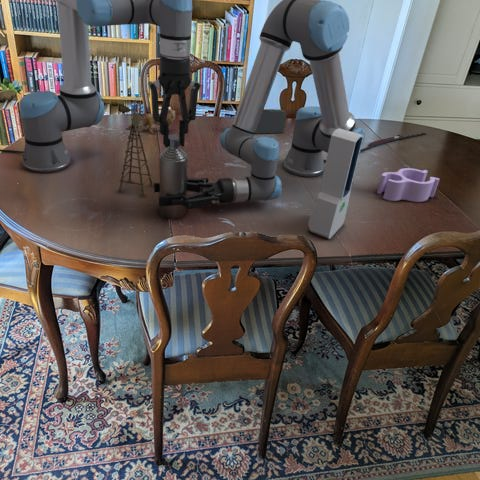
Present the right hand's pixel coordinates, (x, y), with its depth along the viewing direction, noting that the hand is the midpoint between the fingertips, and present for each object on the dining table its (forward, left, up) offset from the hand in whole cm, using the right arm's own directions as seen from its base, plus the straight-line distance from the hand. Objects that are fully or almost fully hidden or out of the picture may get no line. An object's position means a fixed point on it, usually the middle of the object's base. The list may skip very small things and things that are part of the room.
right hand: (156, 194), depth 135 cm
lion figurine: (-39, -56, -6) cm, 69 cm away
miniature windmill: (-3, -16, -6) cm, 18 cm away
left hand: (-4, +2, +15) cm, 16 cm away
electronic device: (-37, +35, -6) cm, 51 cm away
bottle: (-4, +2, -6) cm, 8 cm away
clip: (-80, +36, -6) cm, 88 cm away
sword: (-124, +3, -6) cm, 124 cm away
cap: (-4, +2, +17) cm, 18 cm away
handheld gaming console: (-76, -34, -6) cm, 84 cm away
